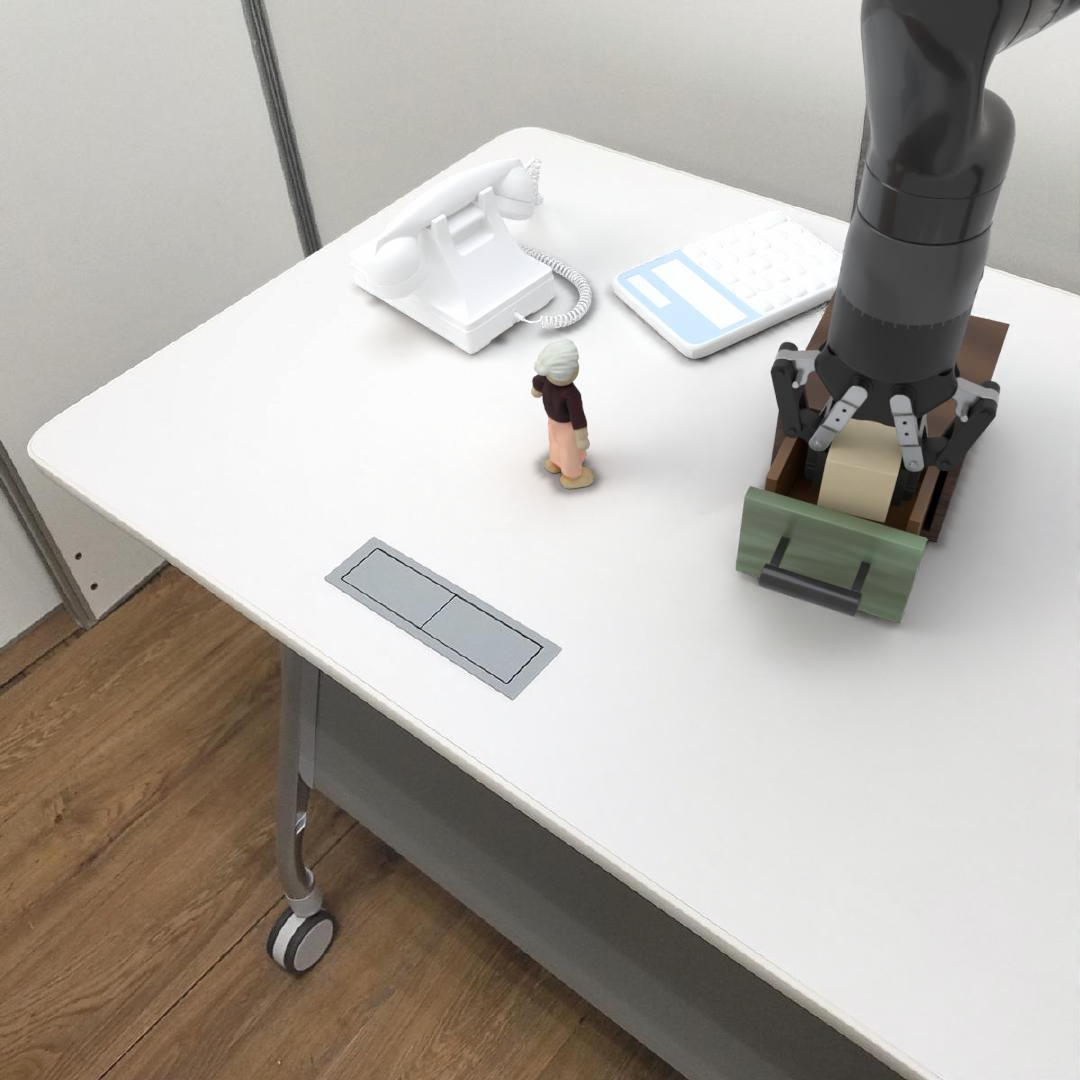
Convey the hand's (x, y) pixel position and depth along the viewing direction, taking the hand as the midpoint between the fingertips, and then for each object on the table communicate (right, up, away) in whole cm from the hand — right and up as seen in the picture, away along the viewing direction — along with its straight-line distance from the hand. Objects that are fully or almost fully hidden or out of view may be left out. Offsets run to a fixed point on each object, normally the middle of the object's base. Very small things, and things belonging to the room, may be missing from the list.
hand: (857, 488), depth 74 cm
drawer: (0, -4, +6) cm, 7 cm away
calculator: (-3, +20, +28) cm, 35 cm away
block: (0, 0, 0) cm, 0 cm away
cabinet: (+5, +3, +13) cm, 14 cm away
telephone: (-26, +21, +31) cm, 45 cm away
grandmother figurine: (-19, +2, +14) cm, 24 cm away
